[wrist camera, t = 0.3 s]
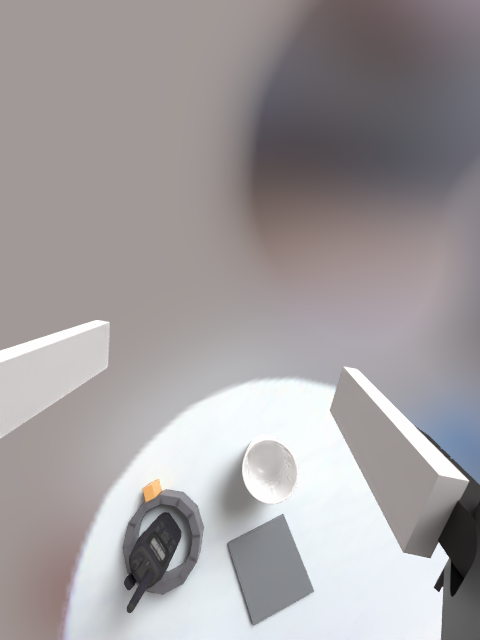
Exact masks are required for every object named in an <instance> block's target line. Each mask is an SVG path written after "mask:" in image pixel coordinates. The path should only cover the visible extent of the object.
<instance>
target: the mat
mask: <svg viewBox="0 0 480 640" xmlns="http://www.w3.org/2000/svg"><path fill="white" fill-rule="evenodd" d="M228 546H229V550H230V553H231V556H232V559H233V562H234V565H235V568H236V572H237V575H238V578H239V581H240V584H241V587H242V591H243V594H244V597H245V600H246V603H247V606H248V609H249V613H250V616H251V619H252V622H253V625H255V624H257V623H259V622H261V621H262V620H264V619H266V618H268V617H269V616H271V615H273V614H275V613H276V612H278V611H280V610H282V609H284V608H285V607H287V606H289V605H291V604H292V603H294V602H296V601H298V600H299V599H301V598H303V597H305V596H306V595H308V594H310V593H312V592H313V591H314V590H313V587H312V585H311V582H310V580H309V577H308V575H307V572H306V570H305V567H304V565H303V562H302V560H301V557H300V555H299V552H298V550H297V547H296V545H295V542H294V540H293V537H292V535H291V532H290V530H289V527H288V525H287V522H286V520H285V517H284V515H283V514H282V515H280V516H278V517H276V518H274V519H272V520H270V521H269V522H267V523H265V524H263V525H261V526H259V527H257V528H255V529H253V530H251V531H249V532H247V533H246V534H244V535H242V536H240V537H238V538H236V539H234V540H232V541H230V542H228Z"/></svg>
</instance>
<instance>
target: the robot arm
mask: <svg viewBox="0 0 480 640" xmlns="http://www.w3.org/2000/svg"><path fill="white" fill-rule="evenodd" d="M109 326H110V323H109V322H105V321H99V320H95V321H92V322H89V323H85V324H83V325H79V326H76V327H73V328H70V329H67V330H64V331H60V332H57V333H54V334H51V335H48V336H45V337H42V338H39V339H36V340H32V341H29V342H26V343H23V344H20V345H17V346H14V347H11V348H8V349H5V350H1V351H0V438H2V437H3V436H5V435H6V434H8V433H9V432H11V431H12V430H14V429H15V428H17V427H18V426H20V425H21V424H23V423H24V422H26V421H28V420H29V419H30V418H32V417H34V416H35V415H36V414H38V413H40V412H41V411H43V410H44V409H46V408H47V407H49V406H50V405H52V404H53V403H55V402H56V401H58V400H59V399H61V398H62V397H64V396H65V395H67V394H68V393H70V392H71V391H73V390H74V389H76V388H77V387H79V386H80V385H82V384H83V383H85V382H86V381H88V380H89V379H91V378H92V377H94V376H95V375H97V374H98V373H100V372H101V371H103V370H104V369H106V368H107V367H108V352H109ZM330 412H331V414H332V416H333V418H334V419H335V421H336V423H337V425H338V427H339V429H340V431H341V433H342V435H343V437H344V439H345V441H346V443H347V445H348V447H349V448H350V450H351V452H352V454H353V456H354V458H355V460H356V462H357V464H358V466H359V468H360V470H361V472H362V474H363V476H364V478H365V479H366V481H367V483H368V485H369V487H370V489H371V491H372V493H373V495H374V497H375V499H376V501H377V503H378V505H379V507H380V508H381V510H382V512H383V514H384V516H385V518H386V520H387V522H388V524H389V526H390V528H391V530H392V532H393V534H394V536H395V538H396V539H397V541H398V543H399V545H400V547H401V549H402V551H403V552H404V553H408V554H413V555H418V556H422V557H427V558H431V556H432V554H433V552H434V550H435V548H436V546H437V544H438V542H439V543H440V544H441V546H442V547H443V549H444V550H445V552H446V553H447V555H448V556H449V560H448V561H447V563H446V565H445V567H444V569H443V571H442V573H441V575H440V576H439V578H438V580H437V582H436V584H435V586H434V588H435V589H436V590H437V591H438V592H439V591H440V589H441V588H442V587H443V609H442V631H441V640H480V485H479V484H478V483H477V482H476V481H475V480H474V479H473V478H472V477H471V476H470V475H469V474H468V473H467V472H466V471H464V469H463V468H462V467H461V466H460V465H459V464H458V463H456V462H455V461H454V460H453V459H451V458H450V456H449V455H448V454H447V453H446V452H445V451H444V450H443V449H441V448H440V446H439V445H438V444H437V443H436V442H435V441H434V440H433V439H432V438H431V437H430V436H428V435H427V434H425V433H424V432H423V431H421V430H420V429H418V428H417V427H416V426H414V425H413V424H412V423H411V422H410V421H409V420H408V419H407V418H406V417H405V416H404V415H403V414H402V413H401V412H399V411H398V409H397V408H396V407H394V405H393V404H392V403H391V402H390V401H389V400H388V399H387V398H385V396H384V395H382V394H381V392H380V391H378V389H377V388H376V387H375V386H373V384H372V383H371V382H370V381H368V380H367V378H366V377H365V376H363V374H362V373H361V372H359V371H358V369H354V368H348V367H343V369H342V372H341V375H340V379H339V382H338V385H337V388H336V392H335V395H334V398H333V402H332V405H331V408H330Z"/></svg>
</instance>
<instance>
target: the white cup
mask: <svg viewBox="0 0 480 640" xmlns="http://www.w3.org/2000/svg"><path fill="white" fill-rule="evenodd" d="M242 476H243V480H244V483H245V486H246V488H247V489H248V491H249V492H250V494H251V495H252V496H253V497H254V498H256V499H257V500H258V501H260V502H263V503H266V504H278V503H281V502H283V501H285V500H286V499H287V498H288V497H289V496H290V495H291V494H292V493H293V491H294V489H295V487H296V485H297V481H298V465H297V462H296V459H295V457H294V455H293V453H292V452H291V450H290V449H289V448H288V447H287V446H286V445H285V444H284V443H282V442H281V441H280V440H278V439H277V438H275V437H273V436H270V435H267V434H265V435H258V436H257V437H256V438H254V439H253V440H252V441H251V443H250V444H249V446H248V448H247V450H246V453H245V456H244V459H243V463H242Z"/></svg>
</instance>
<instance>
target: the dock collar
mask: <svg viewBox="0 0 480 640" xmlns="http://www.w3.org/2000/svg"><path fill="white" fill-rule="evenodd" d="M161 491H162V490H161V486H160V482H159V479H157V480H155V481H153V482H151V483H149V484H148V485H147V486H146V487H144V488H143V493H144V497H145V502H144V503H143V504H142V505H141V506H140V508H139V509H138V510H137V512H136V513H135V515H134V516H133V517H132V519H131V520H130V521H129V523H128V527H127V532H126V536H125V540H124V545H123V552H124V557H125V563H126V568H127V573H128V574H130V572H131V569H130V565H129V556H130V554H131V552H132V550H133V548H134V546H135V544H136V541H137V540H138V536H139V531H140V526H141V522H142V518H143V517H144V516H145V514H146V513H147V511H148V510H149V509H151V508H154V507H156V506H158V505H160V504H165V505H171V506H176V507H177V508H178V509H179V510H180V511H181V512H182V513H183V514H184V515H185V516H186V517H187V518H188V521H189V525H190V528H191V532H192V535H193V539H192V546H191V553H190V554H189V556H188V557H187V559H186V560H185V562H184V564H182V565H180V566H178V567H176V568H174V569H172V570H170V571H169V572H168V571H166V572H165V573H164V575H163V577H162V578H161V580H160V581H158V582H157V583H156V584H155V585H154V586H152V587H150V588H148V589H146V590H145V591H147V592H152V593H157V594H162V595H163V594H165V593H167V592H169V591H171V590H172V589H174V588H176V587H178V586H180V585H182V584H183V583H184V582H185V580H186V579H187V577H188V575H189V574H190V572H191V571H192V569H193V567H194V566H195V564H196V563H197V560H198V557H199V554H200V551H201V544H202V536H203V529H204V526H203V523H202V520H201V516H200V513H199V509H198V506H197V505H196V504H195V503H194V502H193V501H192V500H191V499H190V498H189V497H188V496H187V495H186V494H185V493H184V492H179V491H173V490H167V489H166V490H164V491H162V492H161ZM136 584H137V585H138V586H139V584H138V582H136Z"/></svg>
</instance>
